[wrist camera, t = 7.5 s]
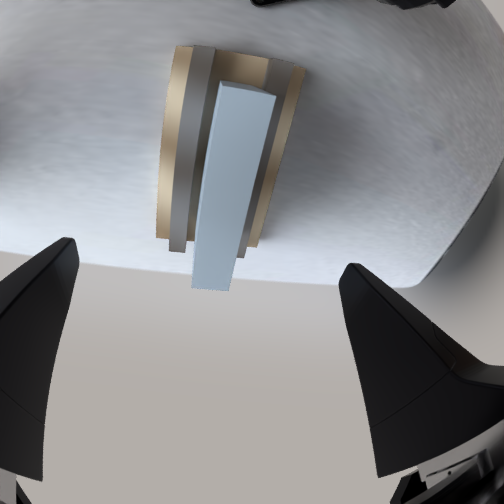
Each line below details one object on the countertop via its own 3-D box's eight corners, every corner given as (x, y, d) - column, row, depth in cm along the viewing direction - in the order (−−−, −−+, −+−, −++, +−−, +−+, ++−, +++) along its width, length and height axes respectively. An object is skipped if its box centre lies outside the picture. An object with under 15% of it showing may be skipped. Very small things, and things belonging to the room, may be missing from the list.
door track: (178, 47, 13) (172, 43, 11) (301, 68, 14) (313, 69, 13) (158, 230, 21) (152, 249, 19) (255, 240, 23) (259, 259, 21)
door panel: (220, 79, 14) (222, 85, 8) (252, 85, 14) (276, 96, 9) (196, 218, 20) (191, 288, 14) (223, 221, 20) (228, 291, 15)
